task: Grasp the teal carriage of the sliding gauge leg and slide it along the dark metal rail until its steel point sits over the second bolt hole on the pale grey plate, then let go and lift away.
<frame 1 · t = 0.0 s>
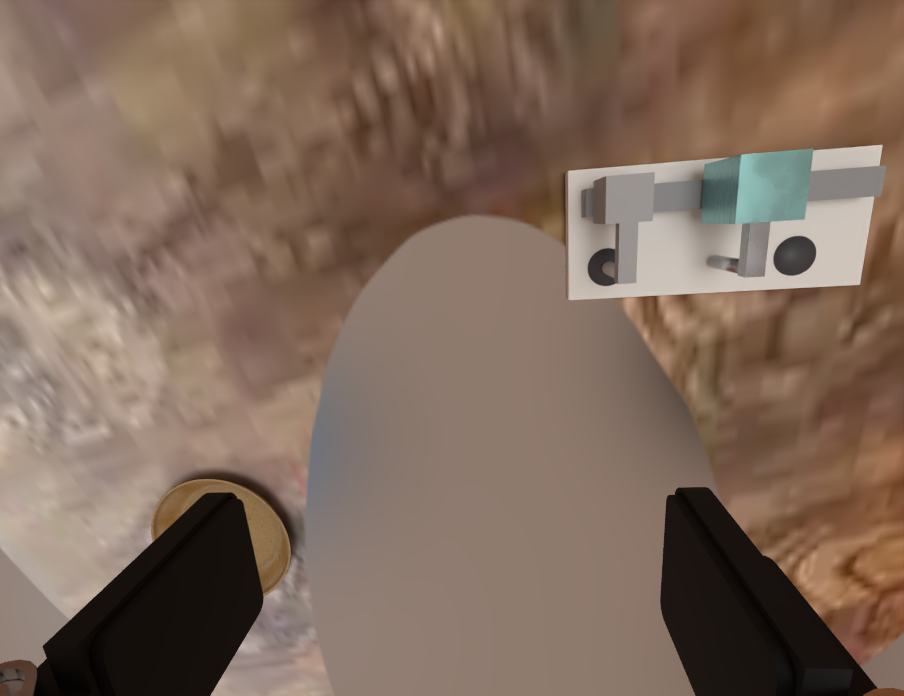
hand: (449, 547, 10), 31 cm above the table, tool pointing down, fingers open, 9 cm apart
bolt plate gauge: (705, 227, 37), on the table
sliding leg: (741, 217, 31), point 5 cm above the table, slide at 0.0 cm
plant saucer: (234, 526, 49), on the table
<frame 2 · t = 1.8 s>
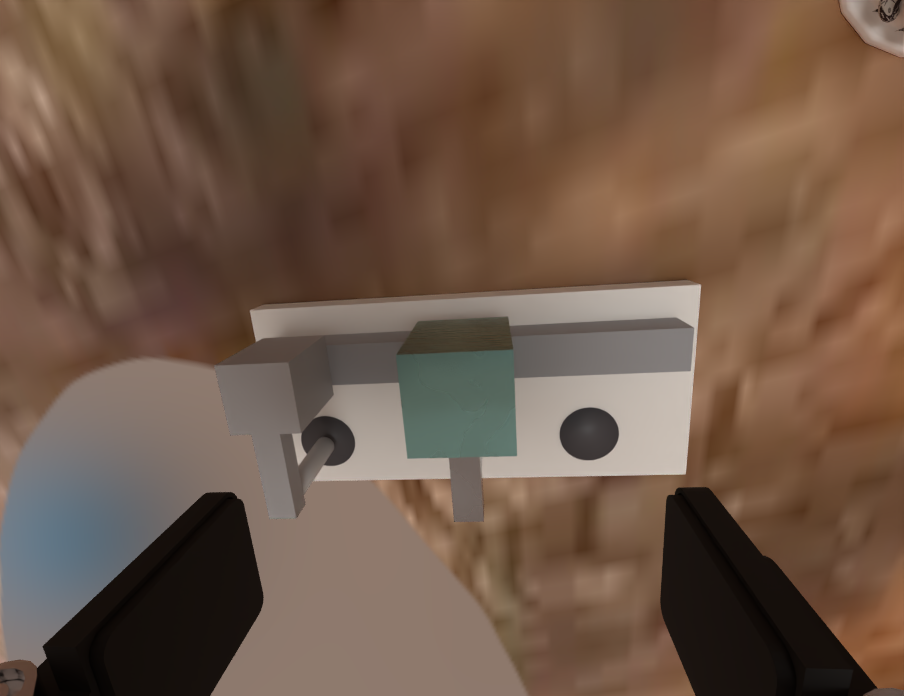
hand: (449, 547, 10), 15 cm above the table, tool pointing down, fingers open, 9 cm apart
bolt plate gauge: (471, 383, 25), on the table
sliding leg: (466, 411, 20), point 5 cm above the table, slide at 0.0 cm
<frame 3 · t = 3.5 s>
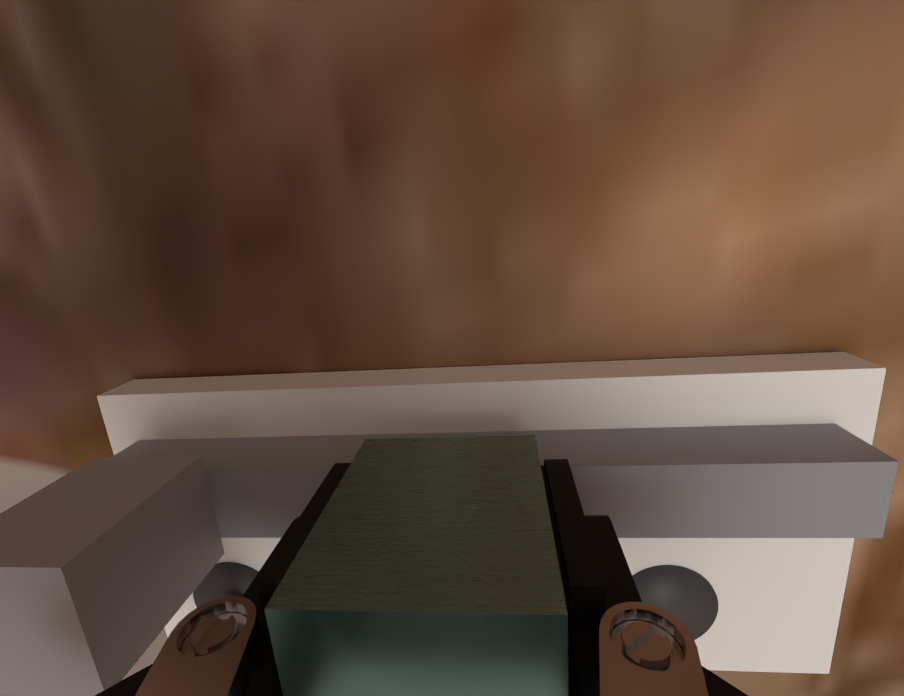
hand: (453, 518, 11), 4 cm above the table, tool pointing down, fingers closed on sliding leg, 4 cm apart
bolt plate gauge: (469, 506, 16), on the table
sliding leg: (453, 623, 10), point 5 cm above the table, slide at 0.0 cm, touching gripper
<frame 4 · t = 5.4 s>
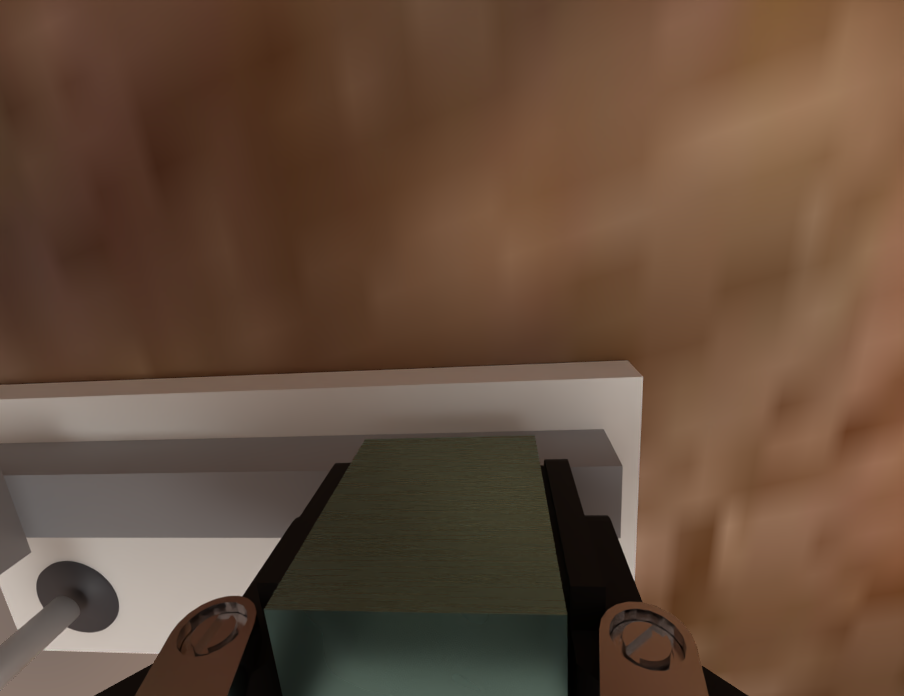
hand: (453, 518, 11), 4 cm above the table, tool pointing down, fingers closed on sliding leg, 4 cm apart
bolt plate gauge: (301, 508, 16), on the table
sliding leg: (453, 623, 10), point 5 cm above the table, slide at 5.9 cm, touching gripper
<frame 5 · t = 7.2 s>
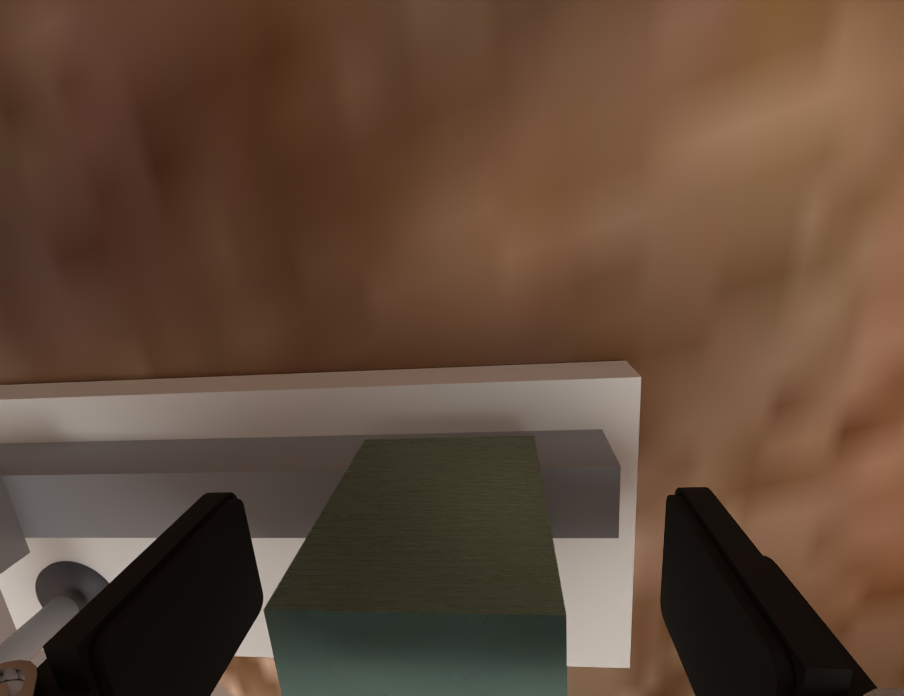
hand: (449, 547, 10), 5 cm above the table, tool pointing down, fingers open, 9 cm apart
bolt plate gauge: (300, 508, 16), on the table
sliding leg: (453, 623, 10), point 5 cm above the table, slide at 6.0 cm
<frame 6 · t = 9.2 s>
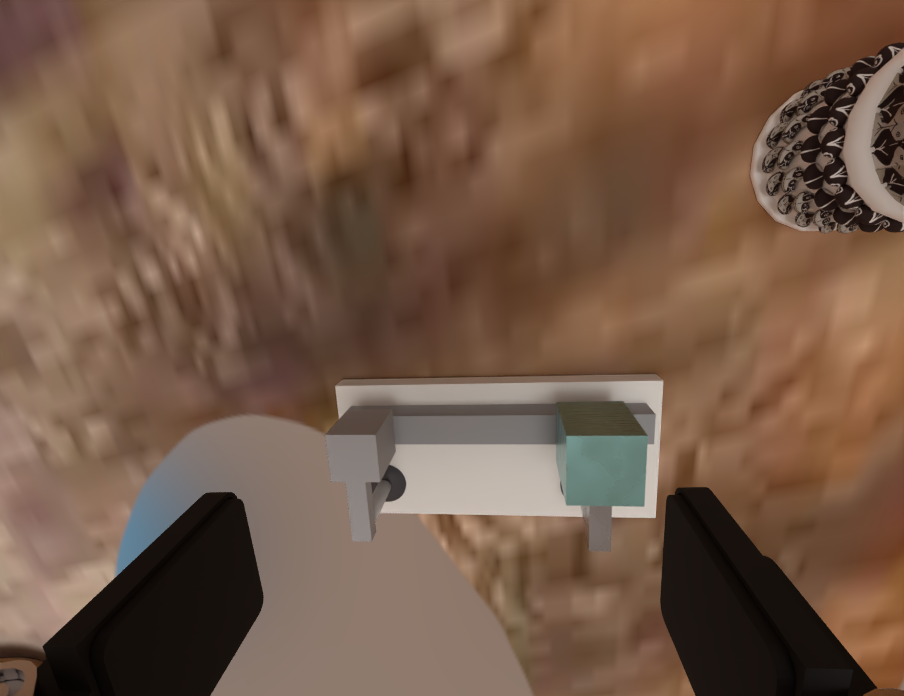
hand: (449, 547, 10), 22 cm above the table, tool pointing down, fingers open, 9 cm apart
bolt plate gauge: (494, 442, 34), on the table
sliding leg: (593, 469, 27), point 5 cm above the table, slide at 6.0 cm
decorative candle: (824, 159, 27), on the table
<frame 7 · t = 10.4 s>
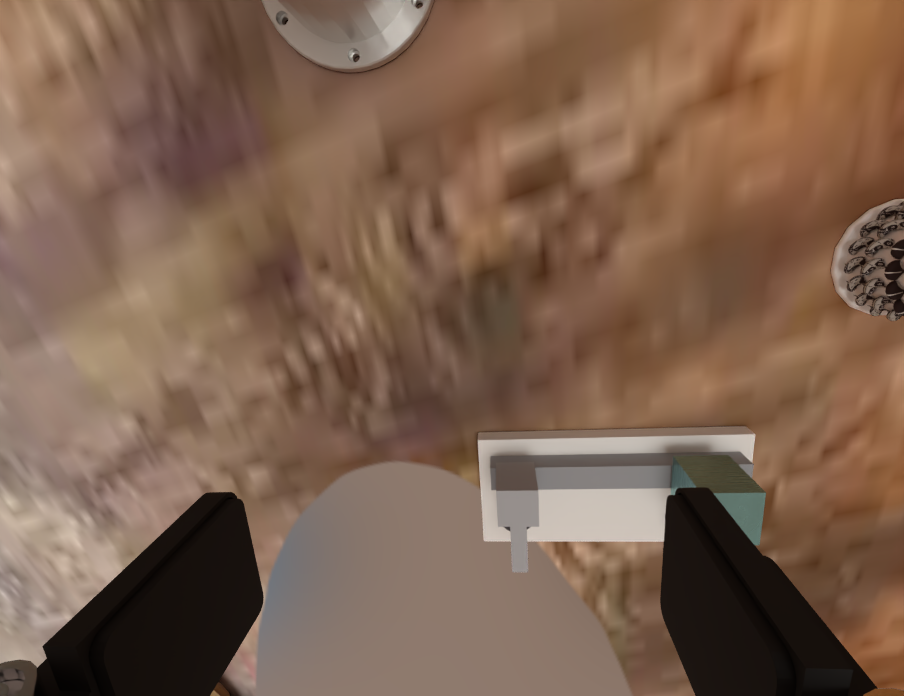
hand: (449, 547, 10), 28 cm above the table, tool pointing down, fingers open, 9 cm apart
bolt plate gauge: (606, 481, 40), on the table
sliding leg: (706, 511, 34), point 5 cm above the table, slide at 6.0 cm
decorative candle: (891, 258, 34), on the table
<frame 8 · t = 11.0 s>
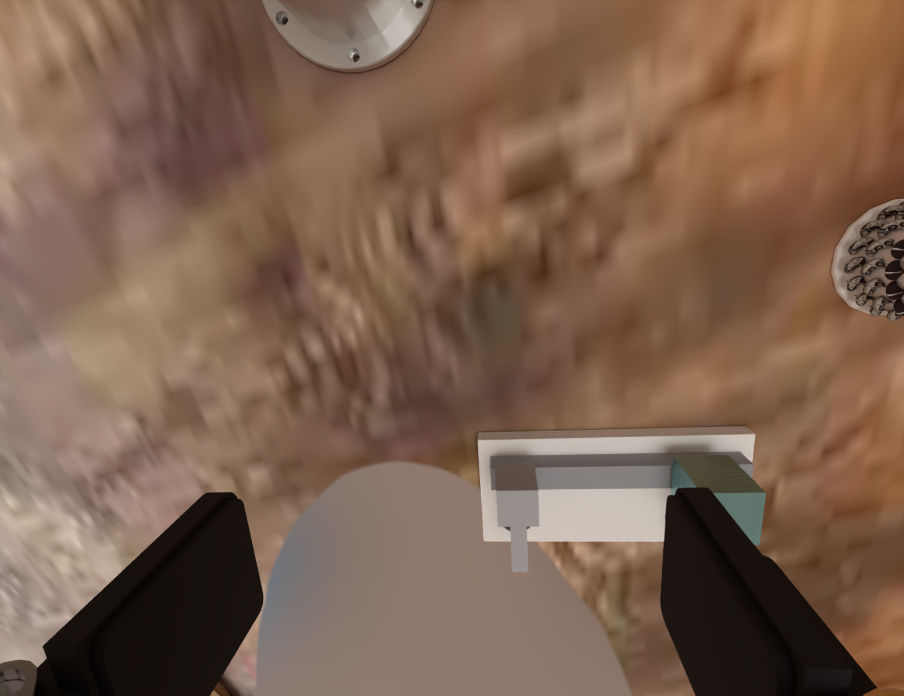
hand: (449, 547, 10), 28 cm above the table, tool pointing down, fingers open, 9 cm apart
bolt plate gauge: (606, 481, 40), on the table
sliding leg: (706, 511, 34), point 5 cm above the table, slide at 6.0 cm
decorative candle: (891, 258, 34), on the table
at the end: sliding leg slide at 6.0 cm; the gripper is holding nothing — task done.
